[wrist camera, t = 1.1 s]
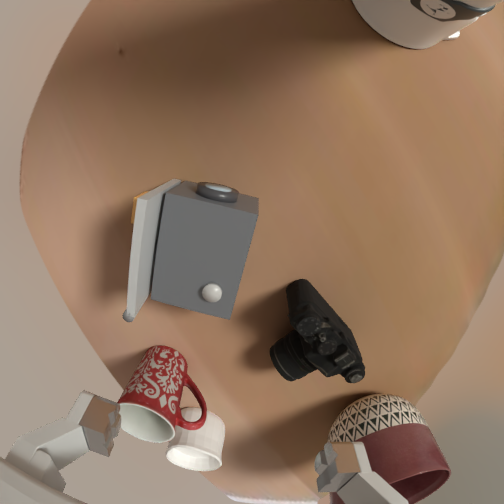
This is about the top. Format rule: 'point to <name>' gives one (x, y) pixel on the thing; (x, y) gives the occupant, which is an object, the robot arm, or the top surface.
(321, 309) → the camera
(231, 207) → the housing
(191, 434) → the cup
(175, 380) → the mug
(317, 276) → the top surface
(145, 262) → the door
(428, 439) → the planter
